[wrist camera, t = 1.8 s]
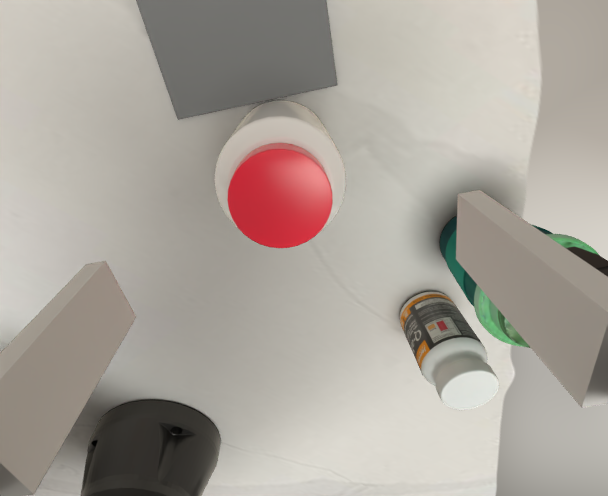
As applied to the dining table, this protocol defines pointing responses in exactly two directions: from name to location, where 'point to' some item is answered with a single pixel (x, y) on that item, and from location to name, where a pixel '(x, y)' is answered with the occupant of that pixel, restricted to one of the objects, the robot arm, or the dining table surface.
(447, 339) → the pill bottle
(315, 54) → the track
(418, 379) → the dining table surface
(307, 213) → the pill bottle
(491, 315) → the cup
